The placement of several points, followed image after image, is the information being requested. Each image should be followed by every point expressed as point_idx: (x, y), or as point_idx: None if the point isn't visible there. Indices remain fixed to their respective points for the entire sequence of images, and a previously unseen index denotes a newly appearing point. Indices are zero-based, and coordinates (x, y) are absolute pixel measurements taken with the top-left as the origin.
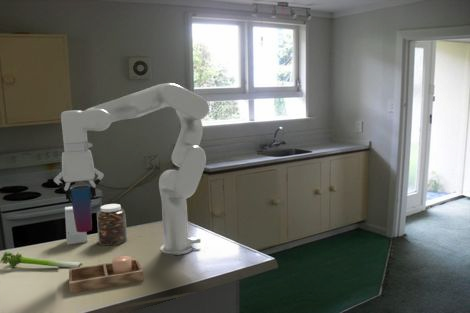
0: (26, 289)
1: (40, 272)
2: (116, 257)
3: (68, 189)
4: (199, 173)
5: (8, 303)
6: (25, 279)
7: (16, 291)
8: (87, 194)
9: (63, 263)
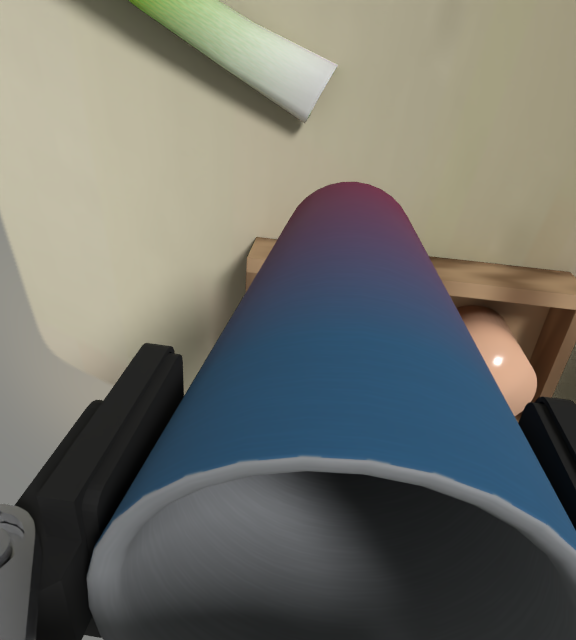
0: (84, 235)
1: (111, 38)
2: None
3: (77, 622)
4: None
5: (48, 325)
6: (53, 108)
7: (48, 235)
8: (426, 613)
9: (226, 58)
